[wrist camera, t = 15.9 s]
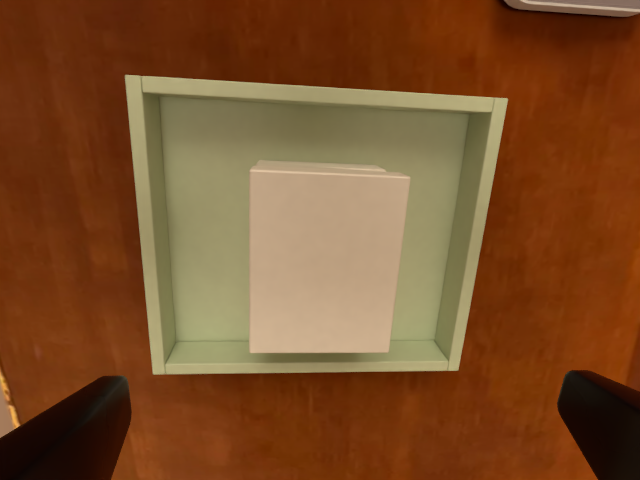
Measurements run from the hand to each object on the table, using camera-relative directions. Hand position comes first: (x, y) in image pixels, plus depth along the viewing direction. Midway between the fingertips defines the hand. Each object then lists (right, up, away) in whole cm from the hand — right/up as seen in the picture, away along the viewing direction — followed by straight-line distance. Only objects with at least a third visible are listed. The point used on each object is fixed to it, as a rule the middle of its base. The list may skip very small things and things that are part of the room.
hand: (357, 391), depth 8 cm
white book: (-1, +2, +7) cm, 8 cm away
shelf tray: (-1, +4, +11) cm, 12 cm away
